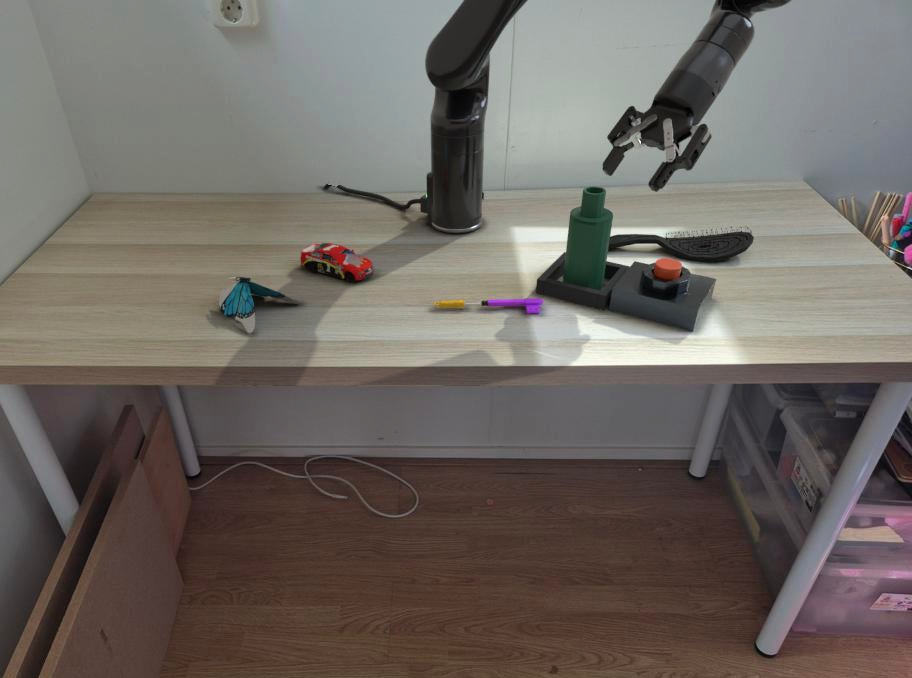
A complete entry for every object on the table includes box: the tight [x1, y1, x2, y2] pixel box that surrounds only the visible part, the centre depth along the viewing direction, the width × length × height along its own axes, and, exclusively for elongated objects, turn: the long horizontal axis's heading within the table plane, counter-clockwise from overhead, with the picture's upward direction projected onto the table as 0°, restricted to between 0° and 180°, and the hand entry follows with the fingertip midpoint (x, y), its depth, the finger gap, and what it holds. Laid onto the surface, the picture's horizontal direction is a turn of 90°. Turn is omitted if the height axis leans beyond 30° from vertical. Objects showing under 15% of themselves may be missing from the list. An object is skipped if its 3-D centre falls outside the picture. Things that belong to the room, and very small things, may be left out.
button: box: [653, 257, 683, 279], centre depth 100 cm, size 4×4×2 cm
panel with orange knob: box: [608, 260, 717, 333], centre depth 102 cm, size 12×10×6 cm
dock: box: [535, 251, 631, 311], centre depth 108 cm, size 11×11×2 cm
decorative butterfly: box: [218, 274, 301, 334], centre depth 106 cm, size 10×6×10 cm
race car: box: [299, 242, 374, 283], centre depth 116 cm, size 13×5×4 cm, turn 57°
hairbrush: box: [608, 226, 755, 263], centre depth 117 cm, size 8×4×25 cm
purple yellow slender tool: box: [434, 297, 544, 314], centre depth 104 cm, size 3×1×16 cm
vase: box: [562, 185, 614, 291], centre depth 105 cm, size 6×6×16 cm
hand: (628, 180), depth 103 cm, fingers open, 8 cm apart
